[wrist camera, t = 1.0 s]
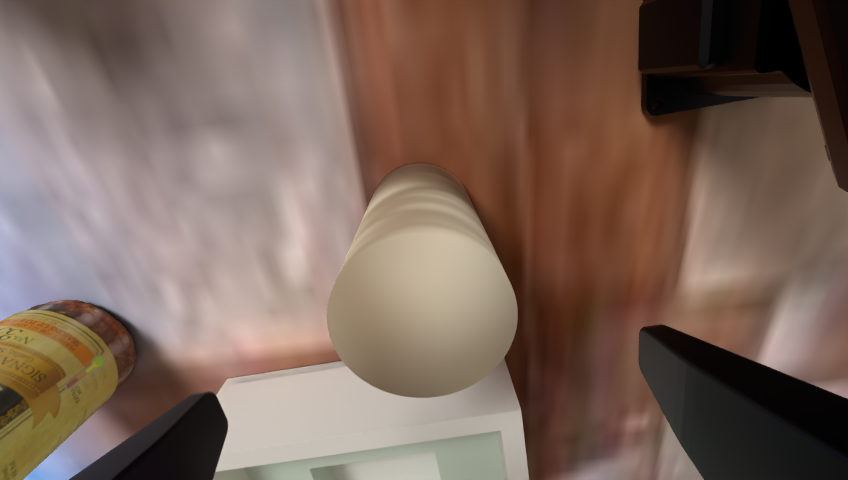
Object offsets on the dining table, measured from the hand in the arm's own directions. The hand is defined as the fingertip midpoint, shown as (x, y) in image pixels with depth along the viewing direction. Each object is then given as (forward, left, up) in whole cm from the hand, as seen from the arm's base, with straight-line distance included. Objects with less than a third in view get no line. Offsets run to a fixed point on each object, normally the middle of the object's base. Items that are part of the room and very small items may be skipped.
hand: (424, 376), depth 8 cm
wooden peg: (0, 0, -12) cm, 12 cm away
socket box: (+5, +16, -12) cm, 21 cm away
